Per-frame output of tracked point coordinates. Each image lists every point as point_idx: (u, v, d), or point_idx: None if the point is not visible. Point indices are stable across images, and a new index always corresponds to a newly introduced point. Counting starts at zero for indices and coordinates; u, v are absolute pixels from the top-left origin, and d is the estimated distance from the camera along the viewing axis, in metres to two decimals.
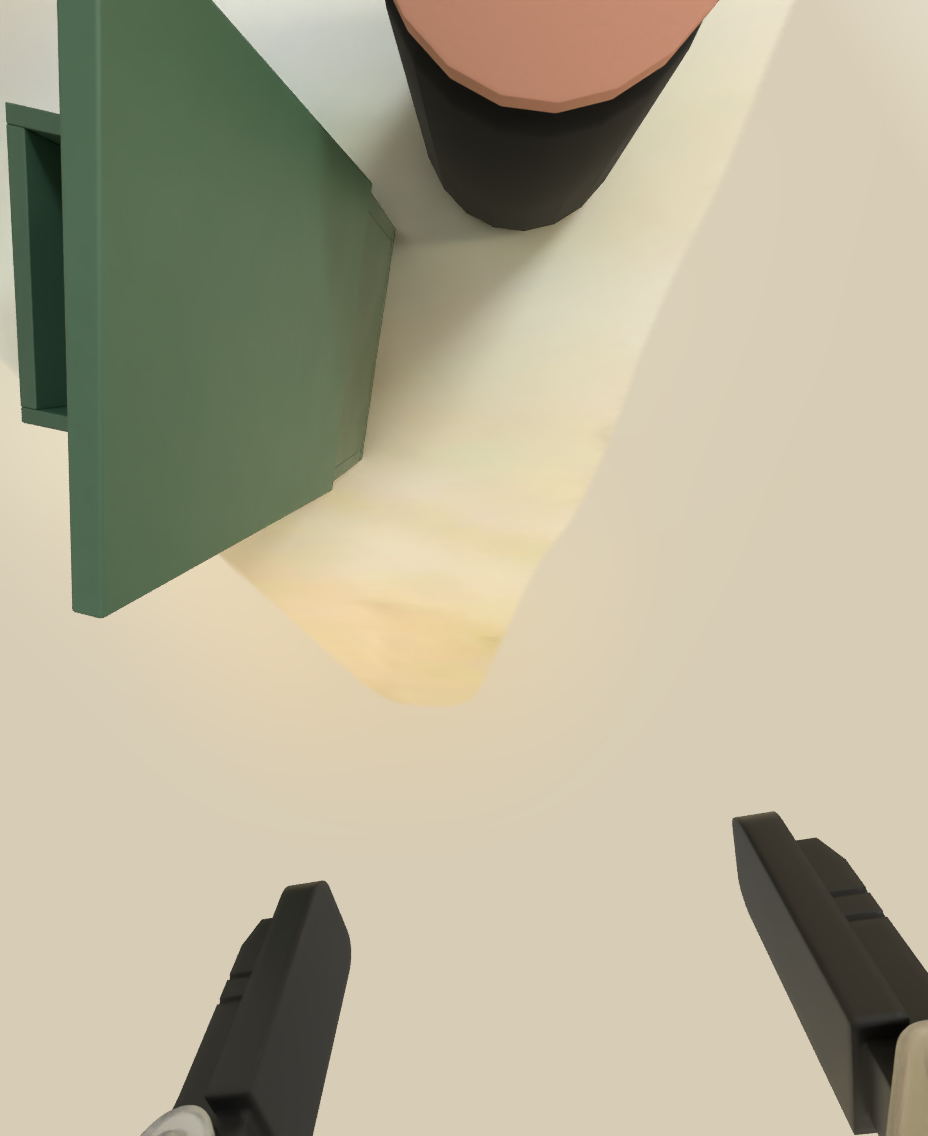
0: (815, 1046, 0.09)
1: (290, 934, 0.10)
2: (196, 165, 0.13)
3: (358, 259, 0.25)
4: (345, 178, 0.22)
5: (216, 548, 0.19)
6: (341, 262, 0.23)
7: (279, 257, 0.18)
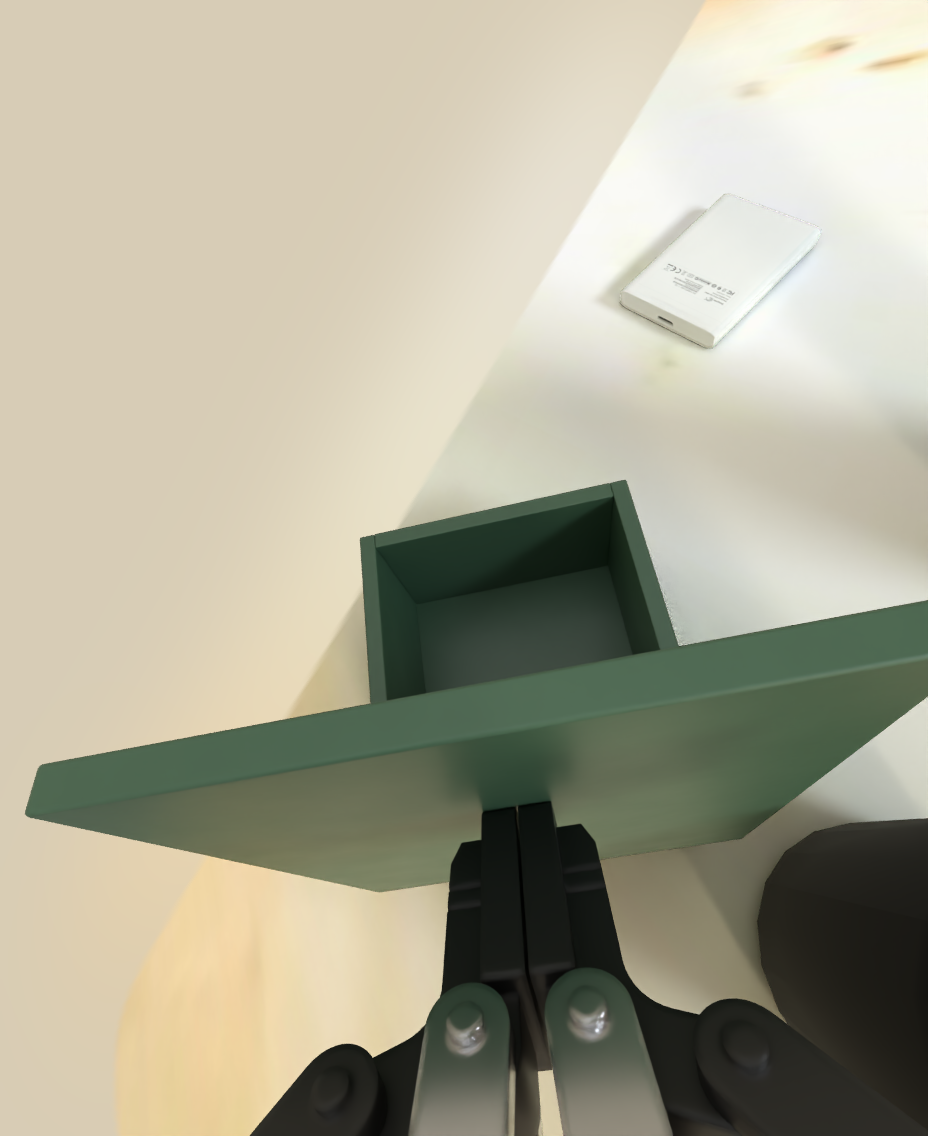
0: None
1: (506, 850, 0.11)
2: (698, 756, 0.10)
3: (656, 849, 0.21)
4: (738, 826, 0.18)
5: (225, 856, 0.13)
6: (647, 843, 0.19)
7: (627, 815, 0.14)
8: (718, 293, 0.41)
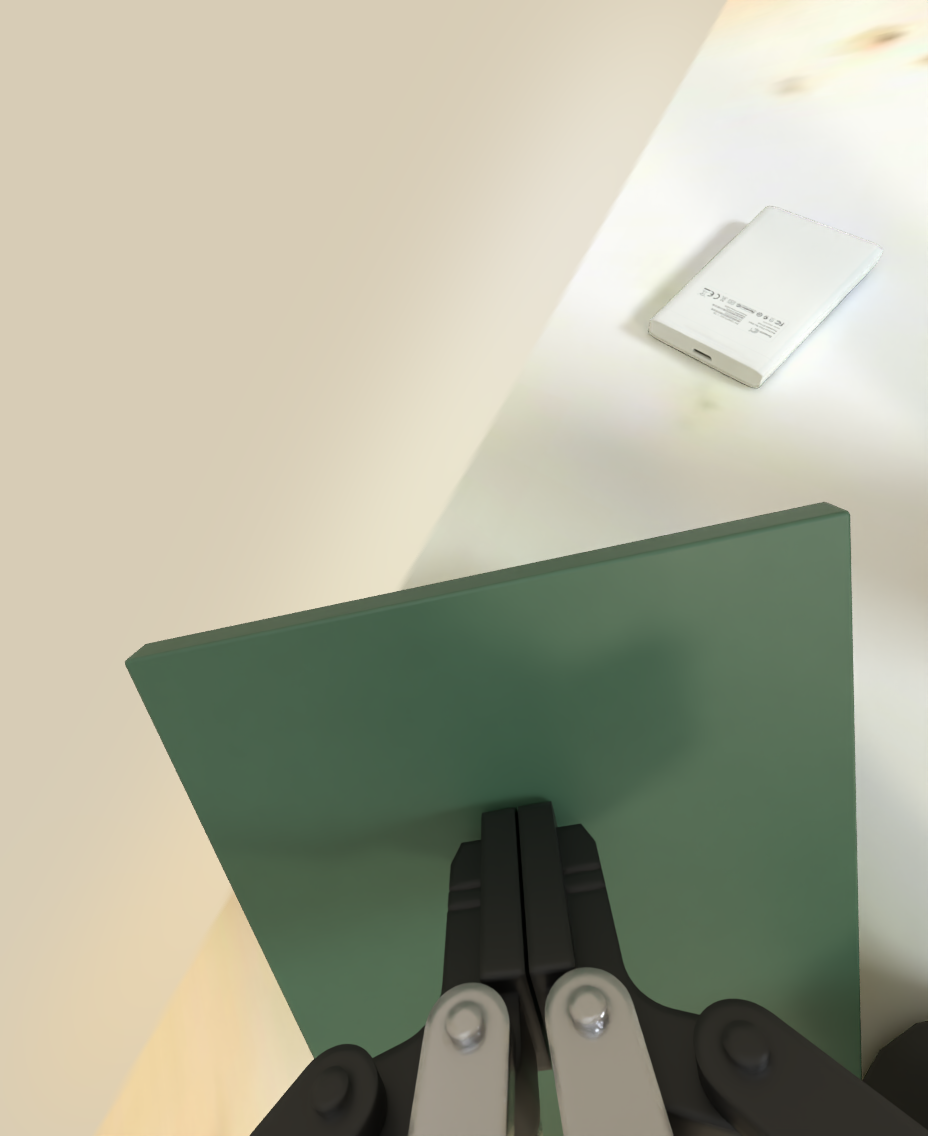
0: None
1: (506, 850, 0.11)
2: (678, 703, 0.11)
3: None
4: (827, 1029, 0.14)
5: (229, 861, 0.13)
6: None
7: (652, 895, 0.13)
8: (765, 323, 0.36)
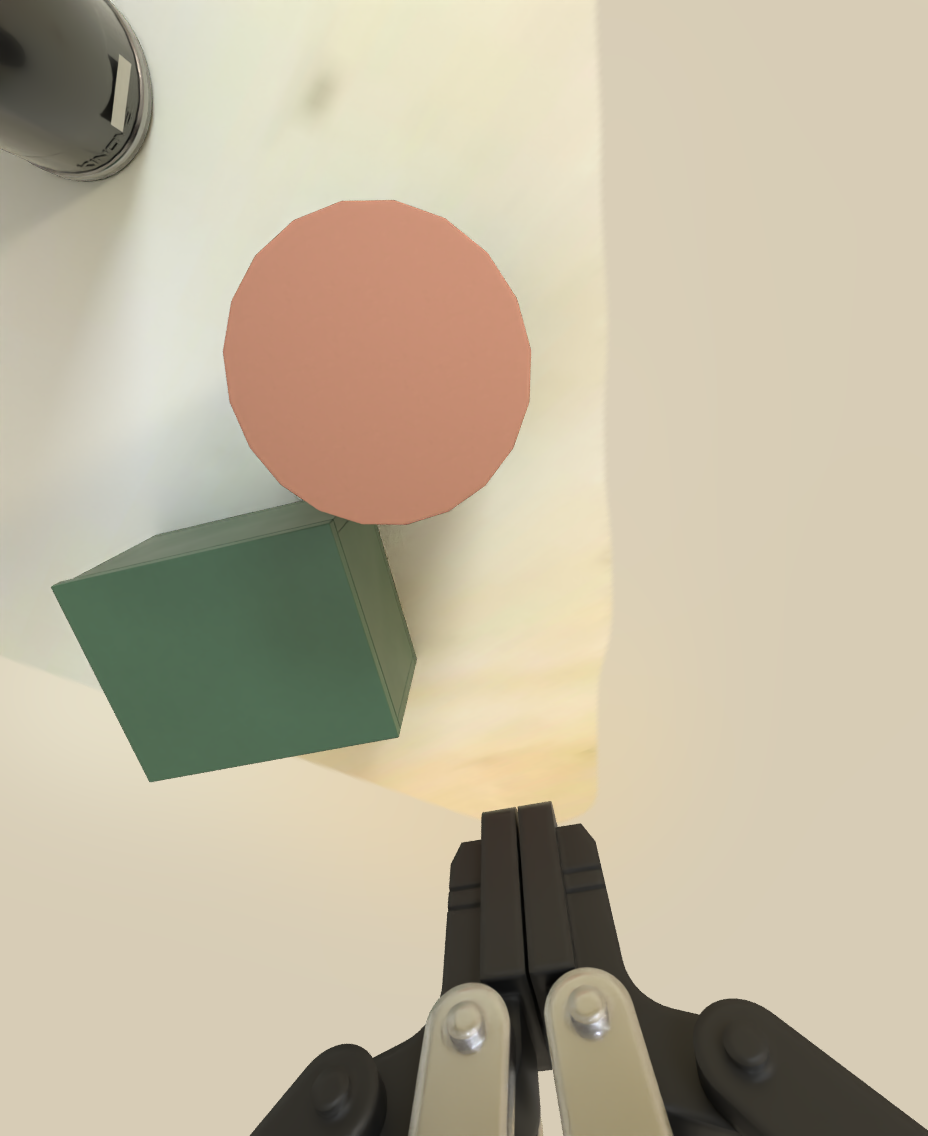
0: None
1: (506, 849, 0.11)
2: (125, 627, 0.33)
3: (337, 578, 0.31)
4: (273, 550, 0.31)
5: (223, 765, 0.36)
6: (302, 594, 0.32)
7: (210, 628, 0.33)
8: None
